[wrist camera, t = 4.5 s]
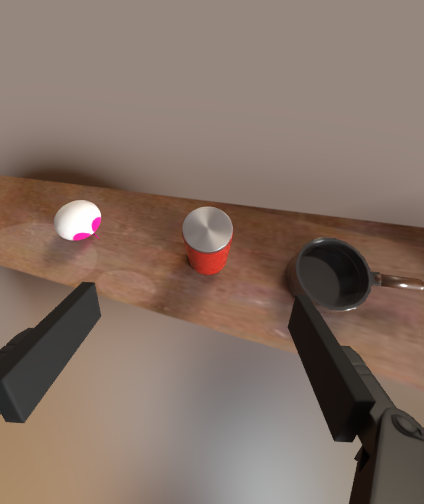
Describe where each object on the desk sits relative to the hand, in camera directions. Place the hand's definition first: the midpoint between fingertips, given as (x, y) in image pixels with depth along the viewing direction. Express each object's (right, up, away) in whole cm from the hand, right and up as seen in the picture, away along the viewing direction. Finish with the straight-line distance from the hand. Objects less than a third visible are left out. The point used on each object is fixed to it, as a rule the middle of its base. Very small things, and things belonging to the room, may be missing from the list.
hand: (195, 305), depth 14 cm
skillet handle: (+29, -1, +20) cm, 35 cm away
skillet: (+20, -1, +23) cm, 30 cm away
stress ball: (-21, +7, +25) cm, 34 cm away
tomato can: (0, +3, +24) cm, 24 cm away
